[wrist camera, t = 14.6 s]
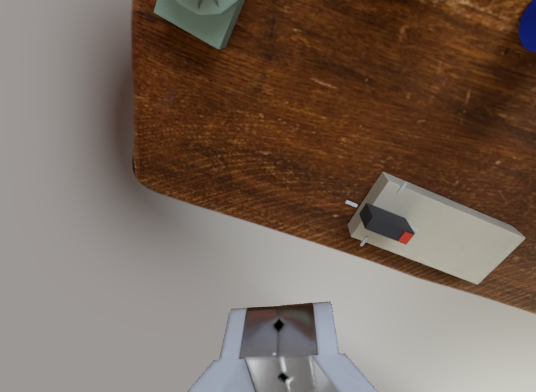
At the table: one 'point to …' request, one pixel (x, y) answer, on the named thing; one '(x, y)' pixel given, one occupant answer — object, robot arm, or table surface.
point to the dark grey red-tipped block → (386, 223)
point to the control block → (202, 18)
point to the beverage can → (528, 27)
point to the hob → (438, 230)
